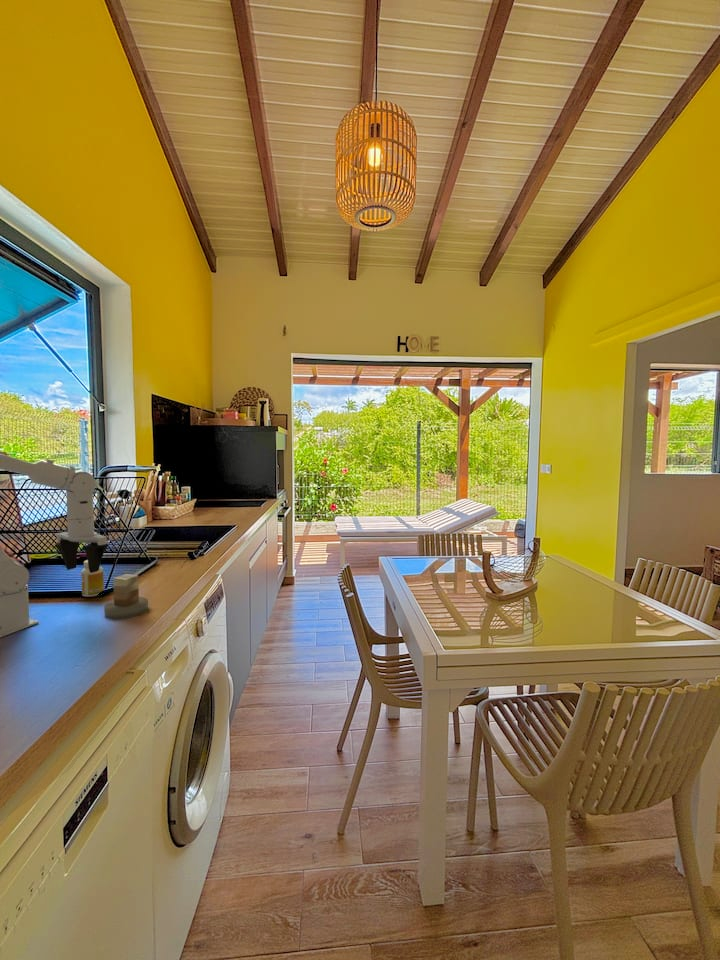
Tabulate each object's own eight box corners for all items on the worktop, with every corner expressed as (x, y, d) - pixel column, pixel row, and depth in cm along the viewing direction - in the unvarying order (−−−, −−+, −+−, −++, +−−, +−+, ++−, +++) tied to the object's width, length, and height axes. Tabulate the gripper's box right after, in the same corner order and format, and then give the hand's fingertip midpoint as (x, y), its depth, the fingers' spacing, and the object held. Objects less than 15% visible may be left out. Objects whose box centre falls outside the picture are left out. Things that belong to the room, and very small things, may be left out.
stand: (126, 620, 109) (126, 612, 109) (94, 615, 112) (94, 607, 112) (156, 606, 118) (156, 599, 118) (126, 602, 121) (126, 594, 121)
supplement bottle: (108, 591, 130) (107, 558, 129) (95, 597, 124) (94, 563, 124) (90, 590, 130) (89, 557, 130) (77, 596, 125) (76, 562, 124)
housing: (126, 607, 112) (125, 579, 112) (114, 605, 114) (113, 578, 113) (138, 601, 116) (138, 575, 116) (126, 599, 117) (126, 573, 117)
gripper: (116, 517, 115) (117, 568, 116) (73, 513, 120) (75, 563, 121) (92, 521, 108) (94, 576, 110) (47, 518, 113) (50, 570, 114)
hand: (82, 570), depth 115 cm, fingers open, 7 cm apart
